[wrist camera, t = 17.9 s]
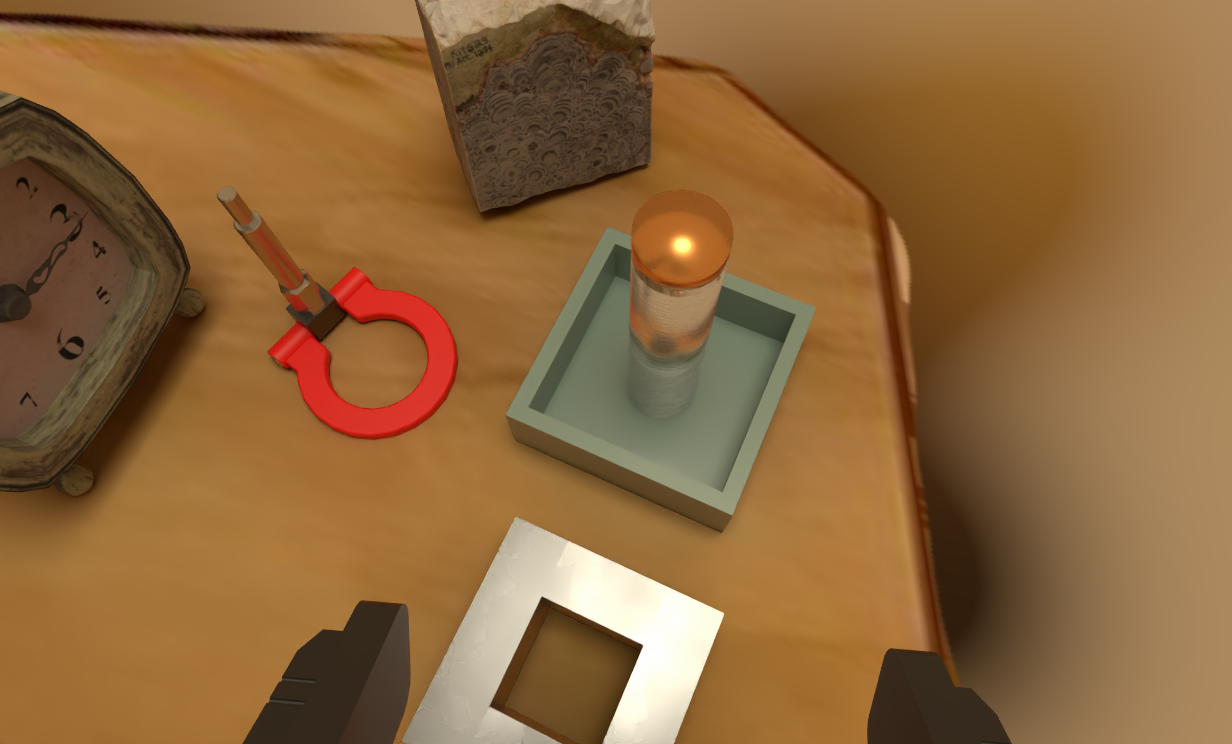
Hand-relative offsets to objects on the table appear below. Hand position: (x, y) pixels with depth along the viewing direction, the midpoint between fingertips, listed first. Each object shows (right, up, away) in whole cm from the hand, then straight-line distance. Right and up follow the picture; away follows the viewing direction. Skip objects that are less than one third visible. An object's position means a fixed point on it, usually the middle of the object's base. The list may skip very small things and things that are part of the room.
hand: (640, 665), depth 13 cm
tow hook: (-14, +5, +30) cm, 34 cm away
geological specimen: (-4, +18, +35) cm, 40 cm away
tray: (+2, +4, +29) cm, 29 cm away
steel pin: (+2, +4, +29) cm, 29 cm away
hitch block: (-2, -9, +24) cm, 26 cm away
